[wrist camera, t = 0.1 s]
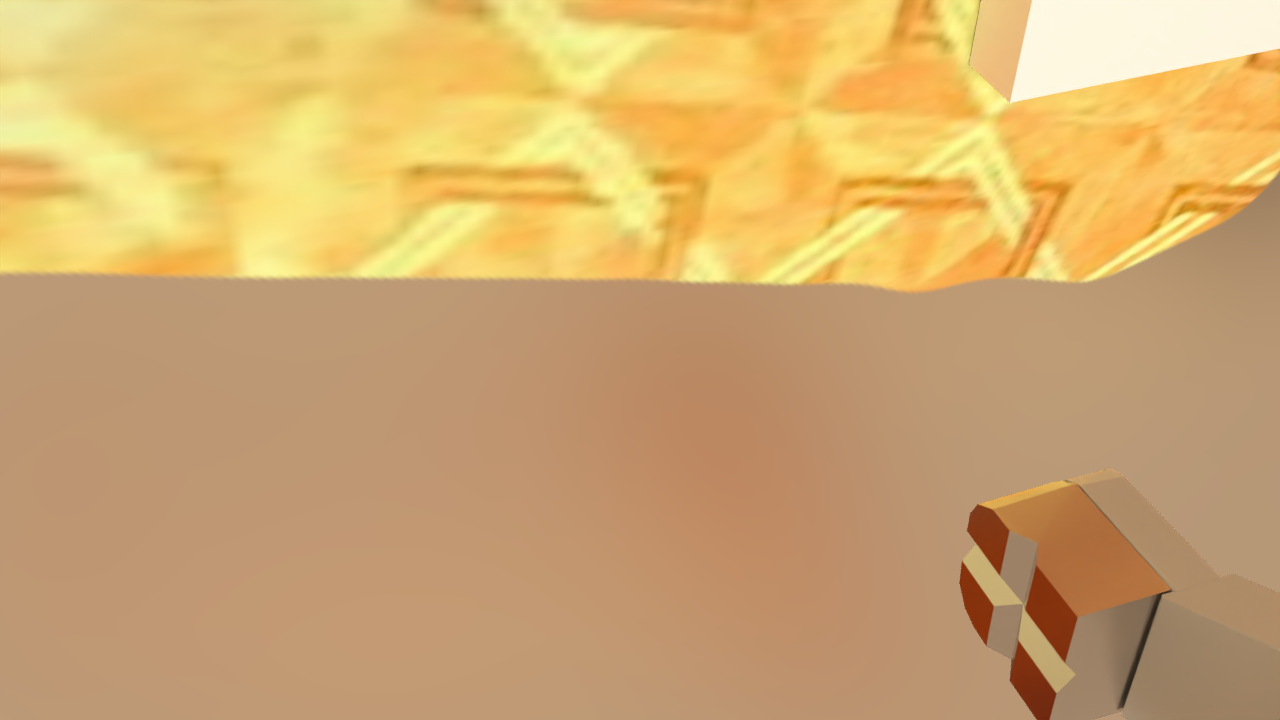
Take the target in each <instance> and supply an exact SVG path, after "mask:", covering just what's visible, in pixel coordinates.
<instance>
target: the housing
mask: <svg viewBox="0 0 1280 720" xmlns="http://www.w3.org/2000/svg"><path fill="white" fill-rule="evenodd" d="M1279 48H1280V0H981V3H980V8H979V13H978V19H977V24H976V30H975V35H974V41H973V46H972V52H971V57H970V62H969V65H970V66H971V67H972V68H973V69H974V70H975V71H976V72H977V73H979V74H980V75H981V76H982V77H983V78H984V79H985V80H986V81H987V82H988V83H989V84H990V85H991V86H993V87H994V88H995V89H996V90H997V91H998V92H999V93H1000V94H1001V95H1002V96H1003V97H1004V98H1006V99H1007V100H1008V101H1009V102H1015V101H1020V100H1025V99H1030V98H1035V97H1040V96H1045V95H1050V94H1055V93H1060V92H1065V91H1070V90H1075V89H1080V88H1085V87H1090V86H1095V85H1100V84H1105V83H1110V82H1115V81H1120V80H1125V79H1130V78H1135V77H1140V76H1145V75H1150V74H1155V73H1160V72H1165V71H1170V70H1175V69H1180V68H1185V67H1190V66H1194V65H1199V64H1204V63H1209V62H1214V61H1219V60H1224V59H1229V58H1234V57H1239V56H1244V55H1249V54H1254V53H1259V52H1264V51H1269V50H1274V49H1279Z"/></svg>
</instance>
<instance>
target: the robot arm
mask: <svg viewBox="0 0 1280 720" xmlns="http://www.w3.org/2000/svg"><path fill="white" fill-rule="evenodd" d="M967 532H968V533H969V534H970V536H971V537H972V538H973V540H974V541H975V543H976V544H975V545H974V547H973V548H972V549H971V550H970V552H969V553H968V554H967V555H966V556H965V558H964V559H963V560H962V564H961V574H960V588H961V592H962V597H963V602H964V606H965V609H966V611H967V613H968V615H969V618H970V620H971V622H972V624H973V627H974V628H975V630H976V631H977V633H978V634H979V636H980V637H981V639H982V640H983V642H984V643H985V645H986V646H987V647H989V648H991V649H993V650H995V651H997V652H999V653H1001V654H1003V655H1004V656H1006V657H1008V658H1011V671H1010V682H1011V683H1012V685H1013V686H1014V688H1015V689H1016V690H1017V692H1018V693H1019V695H1020V696H1021V698H1022V699H1023V700H1024V702H1025V703H1026V705H1027V706H1028V708H1029V709H1030V711H1031V712H1032V714H1033V715H1034V717H1035V718H1036V719H1037V720H1094V719H1097V718H1100V717H1103V716H1107V715H1110V714H1114V713H1118V712H1121V711H1122V714H1121V716H1122V717H1123V718H1125V719H1127V720H1280V593H1278V592H1276V591H1274V590H1271V589H1269V588H1267V587H1264V586H1262V585H1259V584H1257V583H1255V582H1252V581H1250V580H1248V579H1245V578H1243V577H1241V576H1238V575H1236V574H1230V575H1227V576H1222V577H1220V576H1219V574H1218V573H1217V572H1216V571H1215V570H1214V569H1213V568H1212V567H1211V566H1210V565H1209V564H1208V563H1207V562H1206V561H1205V560H1204V559H1203V558H1202V557H1201V556H1200V555H1199V554H1198V553H1197V552H1196V551H1195V550H1194V548H1193V547H1192V546H1191V545H1189V543H1188V542H1187V541H1186V540H1185V539H1184V538H1183V537H1182V536H1181V535H1180V534H1179V533H1178V532H1177V531H1176V530H1175V529H1174V528H1173V527H1172V526H1171V525H1170V524H1169V522H1168V521H1167V520H1166V519H1165V518H1164V517H1163V516H1162V515H1161V514H1160V513H1159V512H1158V511H1157V510H1156V509H1155V508H1154V507H1153V506H1152V505H1151V504H1150V503H1149V502H1148V501H1147V500H1146V499H1145V498H1144V497H1143V496H1142V494H1140V492H1139V491H1138V490H1137V489H1136V488H1135V487H1134V486H1133V485H1132V484H1131V483H1130V482H1129V481H1128V480H1127V479H1126V478H1125V477H1124V476H1123V475H1122V474H1121V473H1119V472H1117V471H1115V470H1113V469H1111V468H1107V469H1103V470H1099V471H1095V472H1092V473H1089V474H1085V475H1081V476H1077V477H1074V478H1071V479H1067V480H1064V481H1056V482H1052V483H1049V484H1046V485H1042V486H1038V487H1035V488H1032V489H1028V490H1025V491H1021V492H1018V493H1014V494H1011V495H1007V496H1004V497H1001V498H997V499H994V500H990V501H987V502H983V503H980V504H977V506H976V507H975V508H974V509H973V511H972V512H971V513H970V517H969V523H968V528H967Z"/></svg>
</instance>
